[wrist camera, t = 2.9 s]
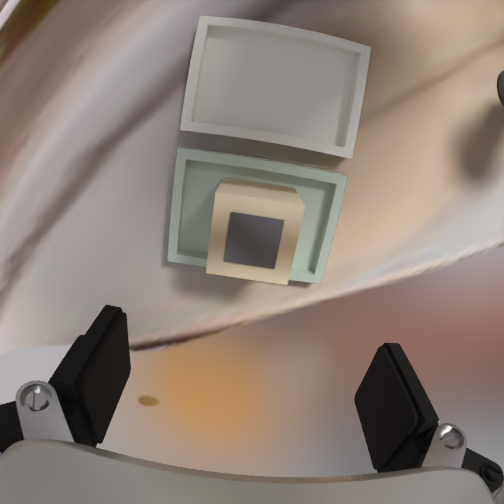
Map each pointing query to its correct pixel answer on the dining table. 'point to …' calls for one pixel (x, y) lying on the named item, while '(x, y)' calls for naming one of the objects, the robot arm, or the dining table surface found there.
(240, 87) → the tray white
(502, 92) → the sundae
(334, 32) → the dining table surface
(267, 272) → the light wooden cube
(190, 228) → the tray sage
